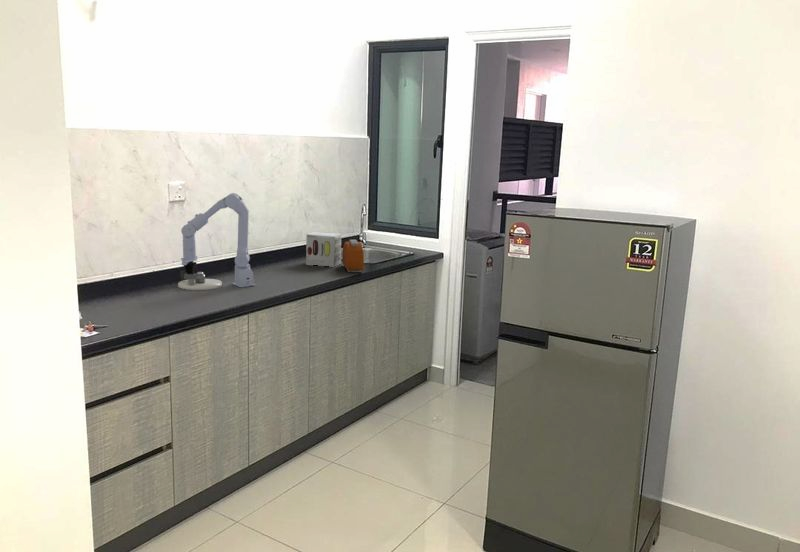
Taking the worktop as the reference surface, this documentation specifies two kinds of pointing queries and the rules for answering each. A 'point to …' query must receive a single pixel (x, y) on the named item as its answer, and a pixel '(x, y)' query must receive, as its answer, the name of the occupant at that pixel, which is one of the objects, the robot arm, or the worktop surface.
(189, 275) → the latch lever
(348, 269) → the orange plastic container
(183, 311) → the worktop surface
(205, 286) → the base
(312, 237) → the supplement box
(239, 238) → the robot arm
